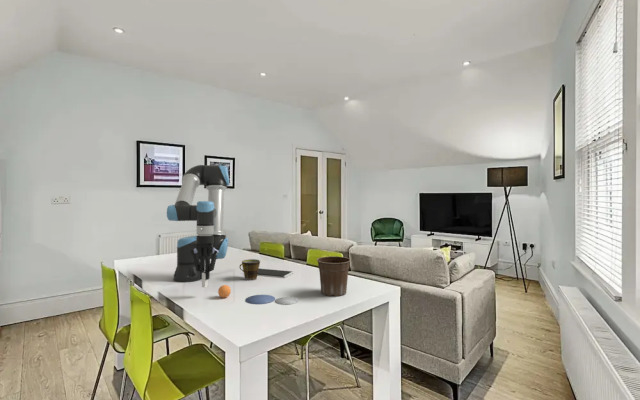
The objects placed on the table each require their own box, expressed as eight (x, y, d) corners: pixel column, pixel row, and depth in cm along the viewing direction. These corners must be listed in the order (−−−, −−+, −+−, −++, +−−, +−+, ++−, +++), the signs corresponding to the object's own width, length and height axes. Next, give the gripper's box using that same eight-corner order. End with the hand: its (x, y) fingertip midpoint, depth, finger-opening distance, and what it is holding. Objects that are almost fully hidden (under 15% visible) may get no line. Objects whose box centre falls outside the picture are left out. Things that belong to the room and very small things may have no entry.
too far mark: (272, 303, 142) (272, 303, 142) (278, 296, 152) (278, 296, 152) (295, 305, 140) (295, 304, 140) (300, 298, 150) (300, 297, 150)
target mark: (240, 303, 142) (240, 302, 142) (251, 294, 155) (251, 293, 155) (270, 304, 140) (270, 304, 140) (278, 295, 153) (278, 295, 153)
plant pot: (335, 300, 148) (335, 264, 147) (309, 293, 158) (309, 259, 158) (357, 292, 160) (357, 259, 159) (331, 286, 170) (332, 255, 170)
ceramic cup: (251, 275, 191) (251, 258, 191) (263, 278, 186) (263, 260, 185) (233, 280, 181) (233, 262, 181) (245, 283, 175) (246, 264, 175)
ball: (215, 298, 148) (215, 286, 148) (221, 295, 154) (221, 283, 154) (227, 299, 147) (227, 287, 147) (232, 295, 153) (232, 283, 153)
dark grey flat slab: (285, 279, 186) (285, 276, 186) (243, 275, 195) (243, 272, 195) (294, 274, 199) (294, 271, 199) (254, 270, 208) (254, 267, 208)
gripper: (187, 235, 149) (187, 288, 149) (214, 236, 147) (214, 289, 147) (196, 233, 156) (195, 283, 156) (222, 234, 154) (221, 285, 154)
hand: (204, 286), depth 151 cm, fingers closed
